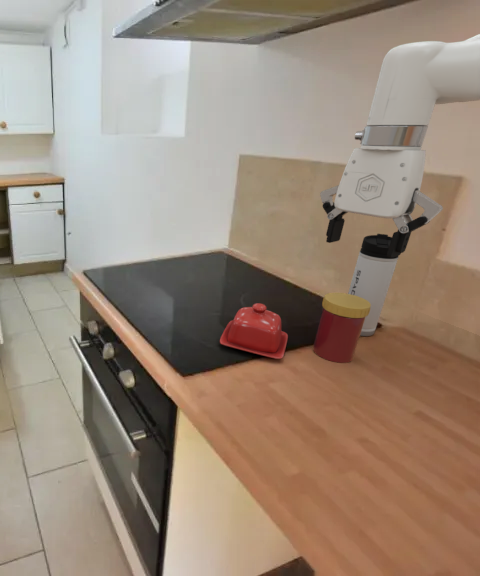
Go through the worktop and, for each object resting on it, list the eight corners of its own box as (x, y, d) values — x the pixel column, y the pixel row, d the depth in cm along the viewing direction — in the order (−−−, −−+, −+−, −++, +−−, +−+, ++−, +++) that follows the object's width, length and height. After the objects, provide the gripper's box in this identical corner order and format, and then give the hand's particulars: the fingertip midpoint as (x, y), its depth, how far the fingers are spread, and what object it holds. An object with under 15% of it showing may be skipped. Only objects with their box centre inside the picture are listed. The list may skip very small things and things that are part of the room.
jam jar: (325, 340, 76) (338, 292, 72) (360, 356, 71) (376, 305, 67) (305, 349, 73) (317, 299, 69) (340, 366, 68) (355, 313, 64)
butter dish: (281, 366, 68) (291, 323, 65) (216, 349, 73) (222, 309, 70) (287, 338, 77) (296, 299, 74) (229, 324, 82) (235, 288, 79)
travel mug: (373, 326, 82) (401, 235, 74) (374, 339, 76) (405, 243, 69) (339, 319, 85) (363, 231, 77) (338, 331, 79) (364, 238, 72)
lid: (335, 298, 73) (337, 289, 72) (376, 312, 67) (379, 303, 66) (313, 306, 69) (315, 297, 69) (354, 321, 64) (357, 312, 63)
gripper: (321, 138, 62) (299, 239, 69) (453, 140, 49) (410, 266, 55) (346, 138, 66) (323, 234, 73) (476, 140, 52) (433, 258, 59)
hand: (361, 248), depth 64 cm, fingers open, 9 cm apart
